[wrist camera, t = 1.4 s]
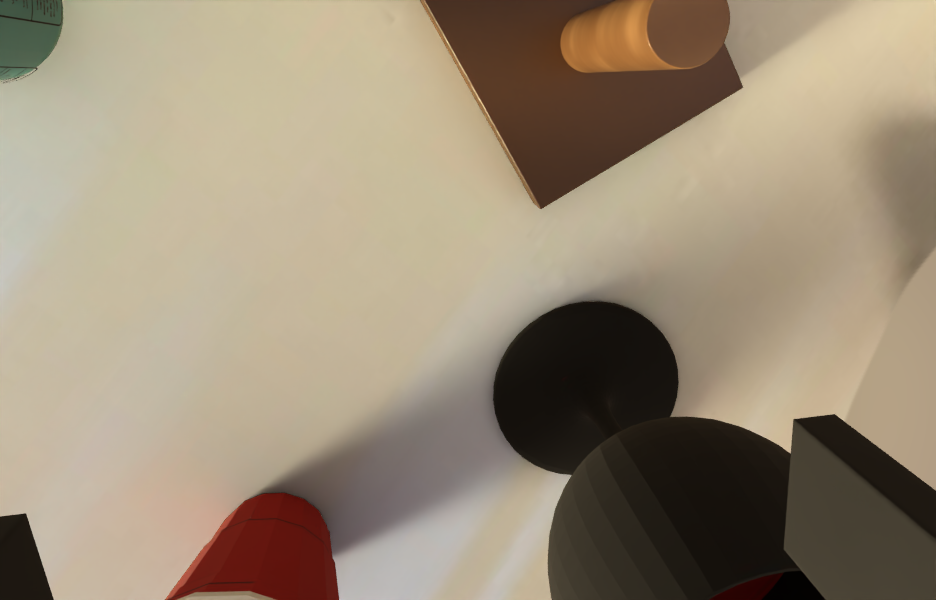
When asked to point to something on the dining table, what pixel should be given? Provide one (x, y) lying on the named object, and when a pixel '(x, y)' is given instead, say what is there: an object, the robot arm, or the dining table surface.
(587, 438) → the wine glass
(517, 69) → the peg rack
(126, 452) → the dining table surface
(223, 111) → the dining table surface
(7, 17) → the beverage bottle
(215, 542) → the plastic cup
